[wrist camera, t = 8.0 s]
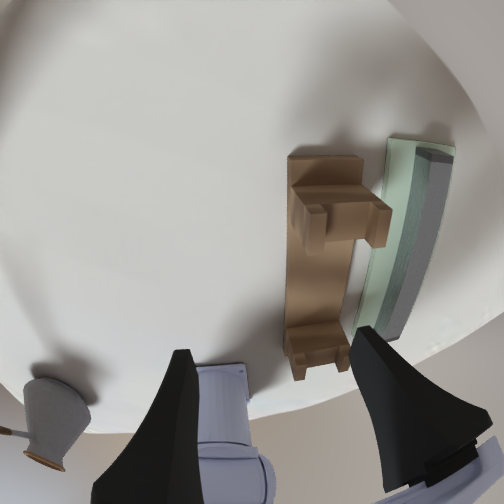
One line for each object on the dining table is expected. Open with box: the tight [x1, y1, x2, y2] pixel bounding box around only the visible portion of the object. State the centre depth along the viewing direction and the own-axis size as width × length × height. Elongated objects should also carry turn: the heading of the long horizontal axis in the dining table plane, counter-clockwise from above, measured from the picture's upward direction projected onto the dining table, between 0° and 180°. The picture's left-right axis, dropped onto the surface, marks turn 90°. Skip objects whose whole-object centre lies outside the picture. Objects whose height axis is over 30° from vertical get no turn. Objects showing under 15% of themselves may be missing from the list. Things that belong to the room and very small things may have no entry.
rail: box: [374, 146, 454, 342], centre depth 21 cm, size 19×2×2 cm, turn 3°
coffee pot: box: [0, 377, 91, 472], centre depth 21 cm, size 21×12×15 cm, turn 6°
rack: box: [283, 156, 393, 381], centre depth 20 cm, size 19×5×5 cm, turn 3°
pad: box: [351, 138, 456, 337], centre depth 22 cm, size 20×7×1 cm, turn 3°
